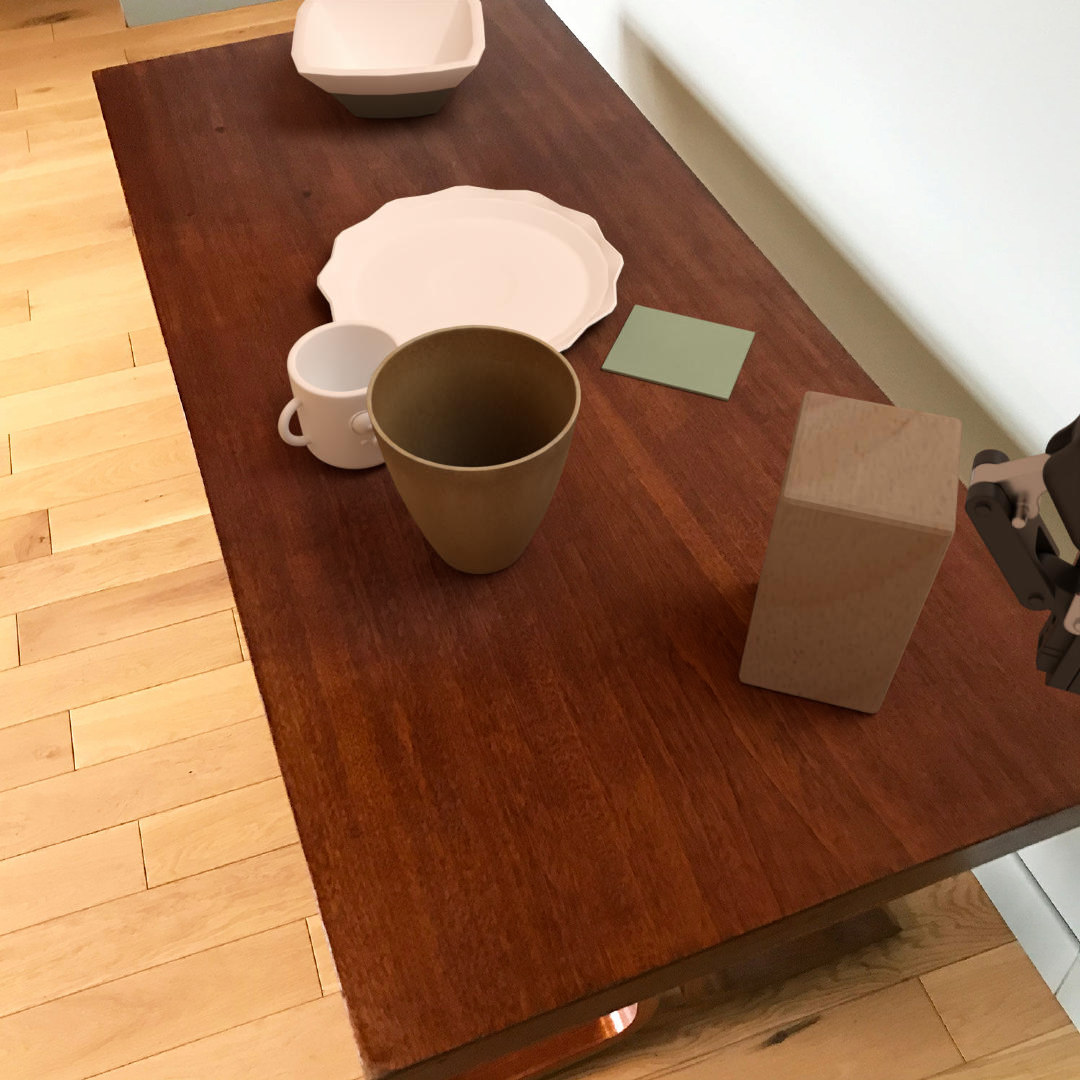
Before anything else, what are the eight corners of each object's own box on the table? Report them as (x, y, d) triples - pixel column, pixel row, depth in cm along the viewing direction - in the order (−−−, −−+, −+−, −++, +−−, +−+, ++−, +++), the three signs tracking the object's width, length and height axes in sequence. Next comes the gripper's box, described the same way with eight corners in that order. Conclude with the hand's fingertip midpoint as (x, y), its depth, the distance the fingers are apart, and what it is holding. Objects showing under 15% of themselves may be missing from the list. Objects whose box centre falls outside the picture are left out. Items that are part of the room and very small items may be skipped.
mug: (324, 511, 92) (306, 431, 85) (261, 443, 97) (238, 363, 90) (442, 445, 97) (434, 365, 90) (376, 384, 102) (363, 303, 95)
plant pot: (376, 609, 85) (348, 462, 73) (405, 470, 95) (384, 319, 83) (571, 620, 84) (575, 473, 72) (580, 478, 94) (585, 327, 82)
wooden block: (736, 684, 80) (781, 496, 65) (759, 580, 87) (804, 386, 71) (877, 718, 79) (956, 532, 63) (890, 609, 85) (965, 416, 70)
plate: (366, 195, 122) (363, 175, 120) (633, 217, 119) (635, 197, 117) (286, 371, 103) (282, 351, 101) (602, 402, 100) (603, 382, 98)
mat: (754, 334, 106) (755, 332, 106) (727, 401, 100) (728, 398, 100) (634, 306, 109) (635, 304, 109) (601, 369, 103) (601, 367, 103)
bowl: (482, 48, 144) (479, -20, 138) (491, 140, 129) (488, 69, 123) (311, 55, 143) (299, -13, 137) (299, 149, 128) (286, 78, 122)
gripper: (1023, 352, 30) (880, 698, 43) (1586, 478, 27) (1248, 810, 40) (1048, 206, 35) (912, 559, 48) (1533, 299, 32) (1245, 650, 45)
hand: (1066, 673), depth 44 cm, fingers closed
